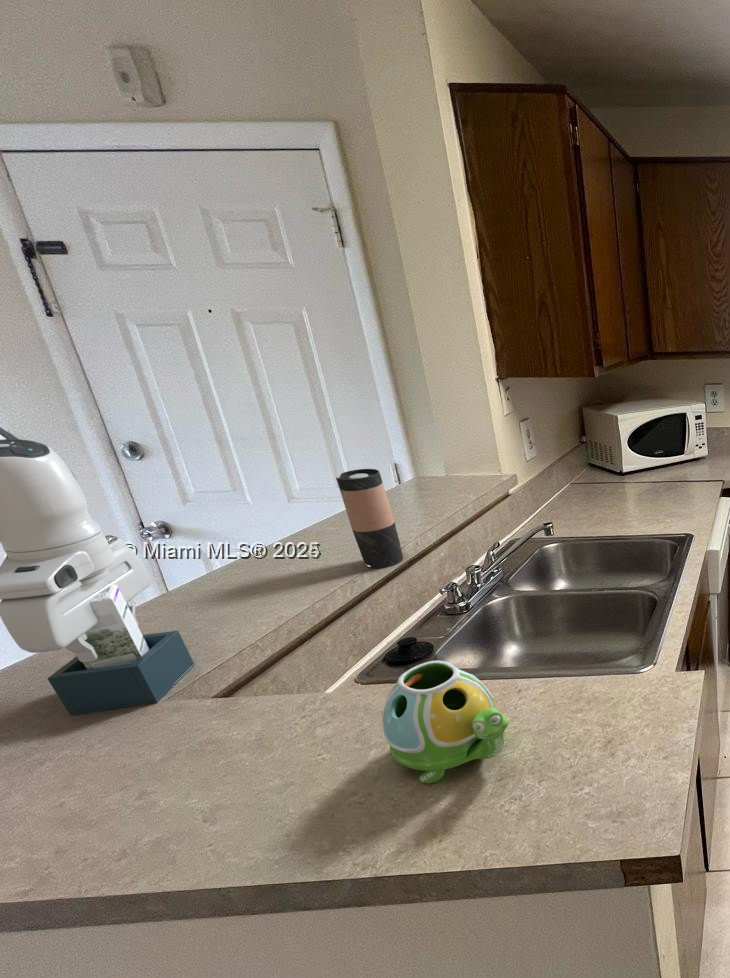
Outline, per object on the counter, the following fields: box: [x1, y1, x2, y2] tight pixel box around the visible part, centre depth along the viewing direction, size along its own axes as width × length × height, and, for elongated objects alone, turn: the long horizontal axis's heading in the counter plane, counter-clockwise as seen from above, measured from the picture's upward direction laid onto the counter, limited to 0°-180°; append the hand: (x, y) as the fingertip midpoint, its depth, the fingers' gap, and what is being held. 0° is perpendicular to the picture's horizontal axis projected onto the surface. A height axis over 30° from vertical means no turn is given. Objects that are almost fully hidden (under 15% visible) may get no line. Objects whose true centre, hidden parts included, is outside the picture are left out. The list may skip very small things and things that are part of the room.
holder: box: [46, 630, 195, 716], centre depth 91 cm, size 10×10×6 cm
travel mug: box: [335, 468, 404, 570], centre depth 129 cm, size 8×8×20 cm
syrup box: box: [83, 584, 150, 670], centre depth 89 cm, size 6×6×14 cm
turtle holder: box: [381, 660, 509, 784], centre depth 78 cm, size 12×18×12 cm
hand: (111, 643), depth 89 cm, fingers closed on syrup box, 7 cm apart
